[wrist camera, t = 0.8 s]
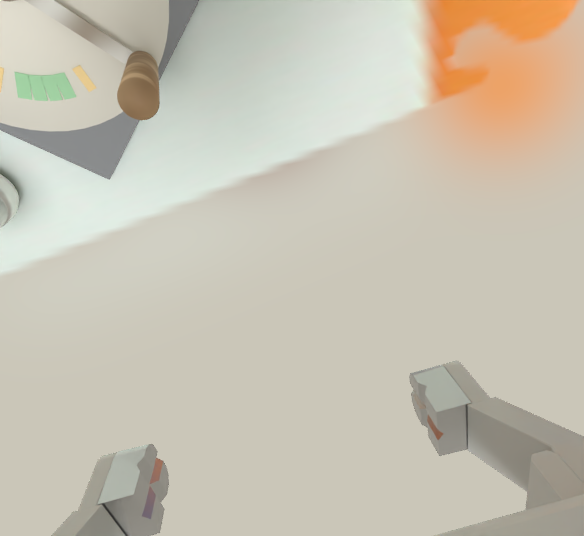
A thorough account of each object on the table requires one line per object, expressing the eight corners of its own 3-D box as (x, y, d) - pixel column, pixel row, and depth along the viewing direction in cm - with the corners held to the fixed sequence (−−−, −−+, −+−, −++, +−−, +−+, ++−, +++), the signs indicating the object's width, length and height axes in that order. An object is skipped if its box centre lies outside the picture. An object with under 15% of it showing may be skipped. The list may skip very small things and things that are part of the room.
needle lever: (-20, -18, 32) (-106, -14, 21) (-9, -57, 31) (-95, -73, 20) (150, 87, 40) (148, 128, 30) (163, 60, 39) (166, 92, 29)
